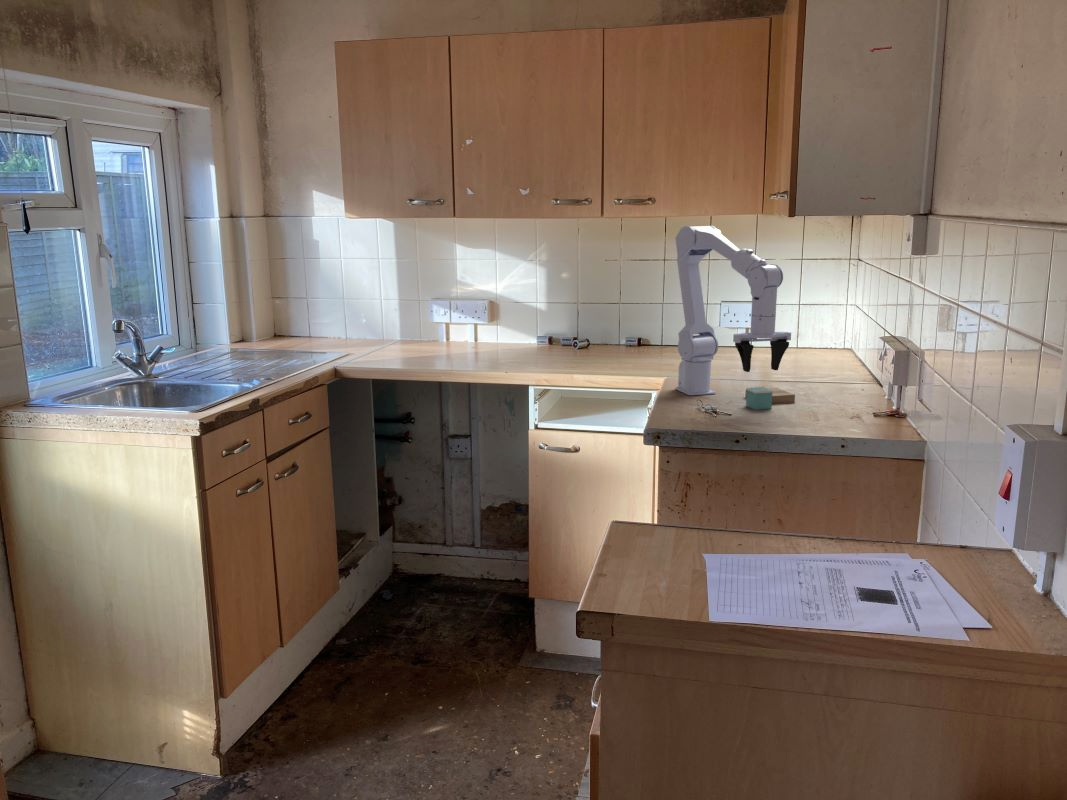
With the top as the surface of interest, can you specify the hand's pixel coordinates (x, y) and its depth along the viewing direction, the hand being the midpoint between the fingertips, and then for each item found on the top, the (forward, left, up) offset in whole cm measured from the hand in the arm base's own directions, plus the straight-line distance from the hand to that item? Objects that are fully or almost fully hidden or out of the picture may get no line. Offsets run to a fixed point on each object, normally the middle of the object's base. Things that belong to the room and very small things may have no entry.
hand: (760, 370), depth 204 cm
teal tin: (0, 0, -9) cm, 9 cm away
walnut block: (-7, +7, -10) cm, 14 cm away
